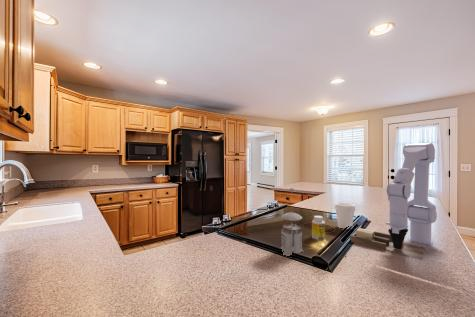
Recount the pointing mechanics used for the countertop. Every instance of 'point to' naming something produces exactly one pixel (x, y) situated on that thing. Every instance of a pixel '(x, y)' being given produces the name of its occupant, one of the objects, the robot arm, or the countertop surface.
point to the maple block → (371, 235)
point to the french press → (291, 234)
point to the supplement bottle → (318, 228)
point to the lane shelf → (389, 245)
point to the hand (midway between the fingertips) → (398, 247)
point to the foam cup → (344, 214)
